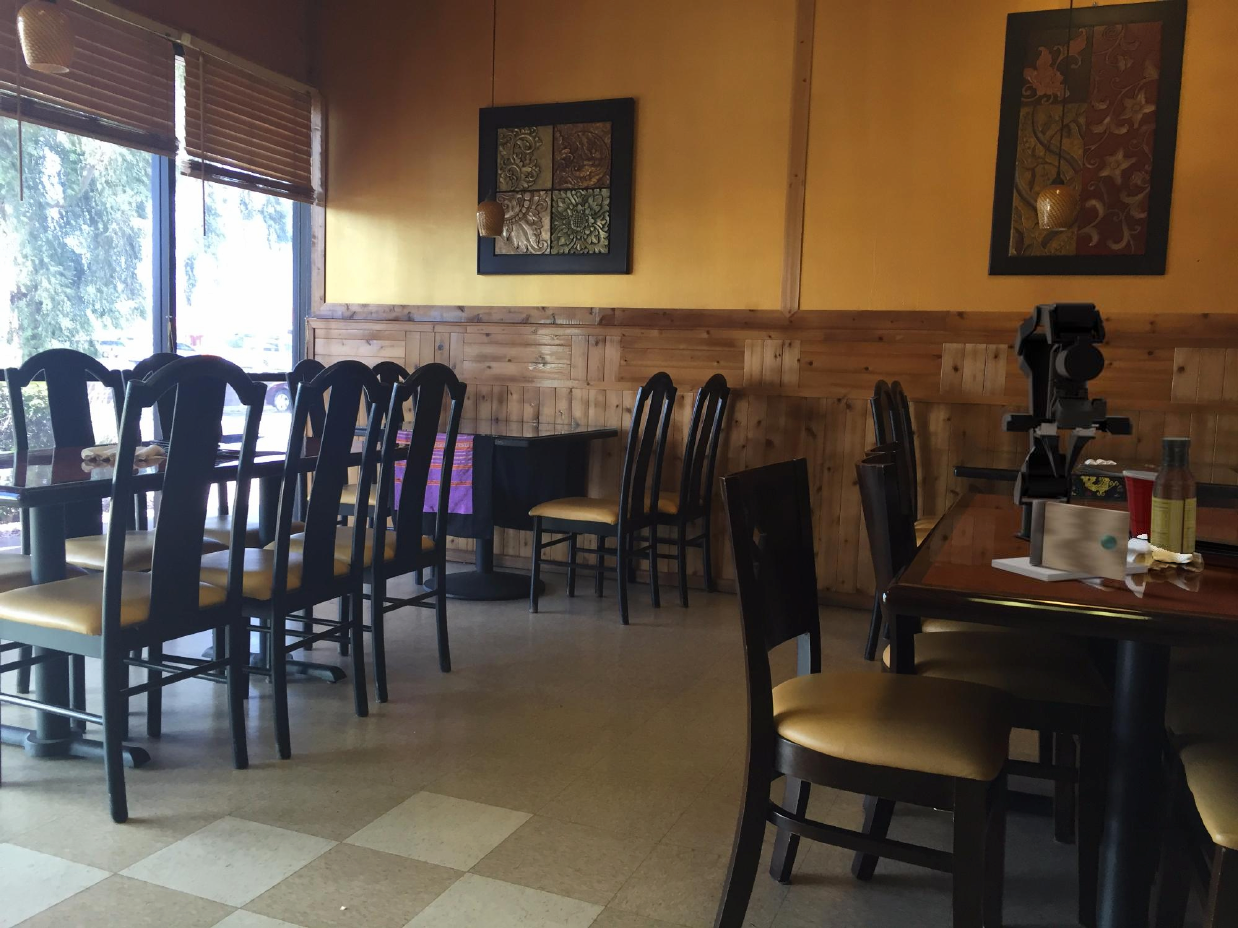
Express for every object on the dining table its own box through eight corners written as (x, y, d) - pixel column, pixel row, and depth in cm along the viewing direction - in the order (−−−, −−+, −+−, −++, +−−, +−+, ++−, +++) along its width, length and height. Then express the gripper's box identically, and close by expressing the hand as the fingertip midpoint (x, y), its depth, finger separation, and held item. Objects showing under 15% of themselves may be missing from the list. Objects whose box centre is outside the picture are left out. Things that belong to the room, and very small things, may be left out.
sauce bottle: (1182, 557, 161) (1191, 437, 159) (1201, 565, 155) (1210, 440, 153) (1140, 556, 162) (1149, 436, 160) (1157, 564, 156) (1166, 439, 154)
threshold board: (1047, 581, 142) (1047, 574, 142) (991, 566, 152) (992, 559, 152) (1147, 572, 149) (1147, 565, 149) (1088, 558, 159) (1088, 552, 159)
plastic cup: (1185, 546, 172) (1190, 478, 171) (1116, 539, 178) (1120, 473, 176) (1185, 537, 181) (1190, 472, 180) (1120, 531, 187) (1124, 468, 186)
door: (1020, 564, 147) (1024, 501, 146) (1034, 561, 149) (1037, 499, 148) (1114, 582, 136) (1118, 514, 135) (1127, 579, 138) (1132, 512, 137)
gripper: (1015, 380, 153) (1009, 480, 154) (1146, 383, 148) (1139, 485, 150) (1003, 379, 163) (998, 472, 165) (1125, 381, 159) (1119, 477, 161)
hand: (1062, 477), depth 160 cm, fingers closed
